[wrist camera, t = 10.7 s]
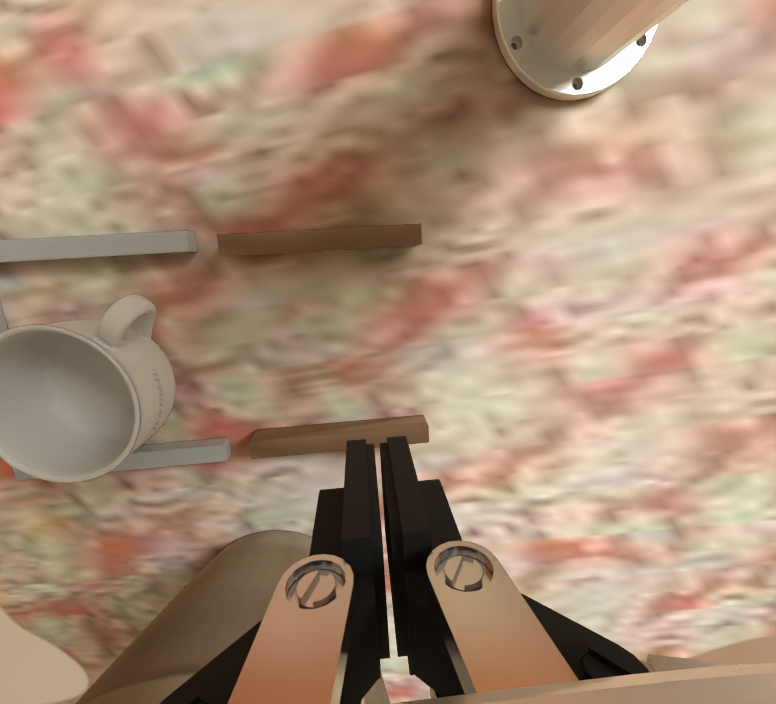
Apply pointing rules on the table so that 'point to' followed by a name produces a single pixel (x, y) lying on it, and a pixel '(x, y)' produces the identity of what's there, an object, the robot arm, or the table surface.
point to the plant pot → (206, 621)
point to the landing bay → (107, 248)
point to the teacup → (82, 392)
